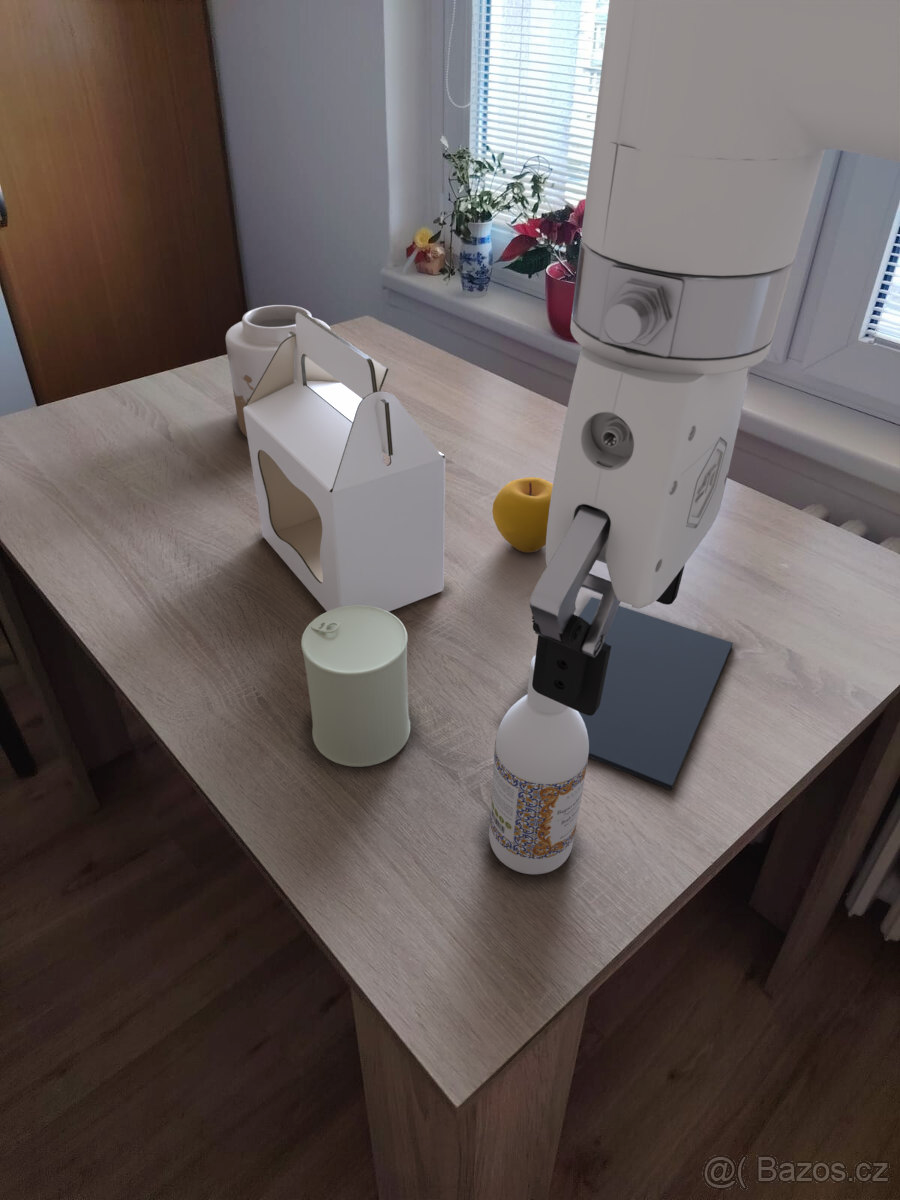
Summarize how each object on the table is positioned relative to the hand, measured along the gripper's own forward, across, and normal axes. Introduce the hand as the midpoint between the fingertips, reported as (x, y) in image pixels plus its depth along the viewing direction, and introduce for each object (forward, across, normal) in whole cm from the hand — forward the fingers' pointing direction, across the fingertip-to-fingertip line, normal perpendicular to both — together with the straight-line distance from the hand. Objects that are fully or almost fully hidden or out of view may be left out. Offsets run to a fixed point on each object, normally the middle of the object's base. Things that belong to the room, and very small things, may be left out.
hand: (608, 642), depth 41 cm
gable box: (+32, +31, +43) cm, 62 cm away
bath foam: (+31, +8, +6) cm, 33 cm away
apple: (+31, +47, +27) cm, 62 cm away
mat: (+31, +30, +7) cm, 44 cm away
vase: (+32, +55, +74) cm, 98 cm away
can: (+31, +10, +25) cm, 42 cm away
